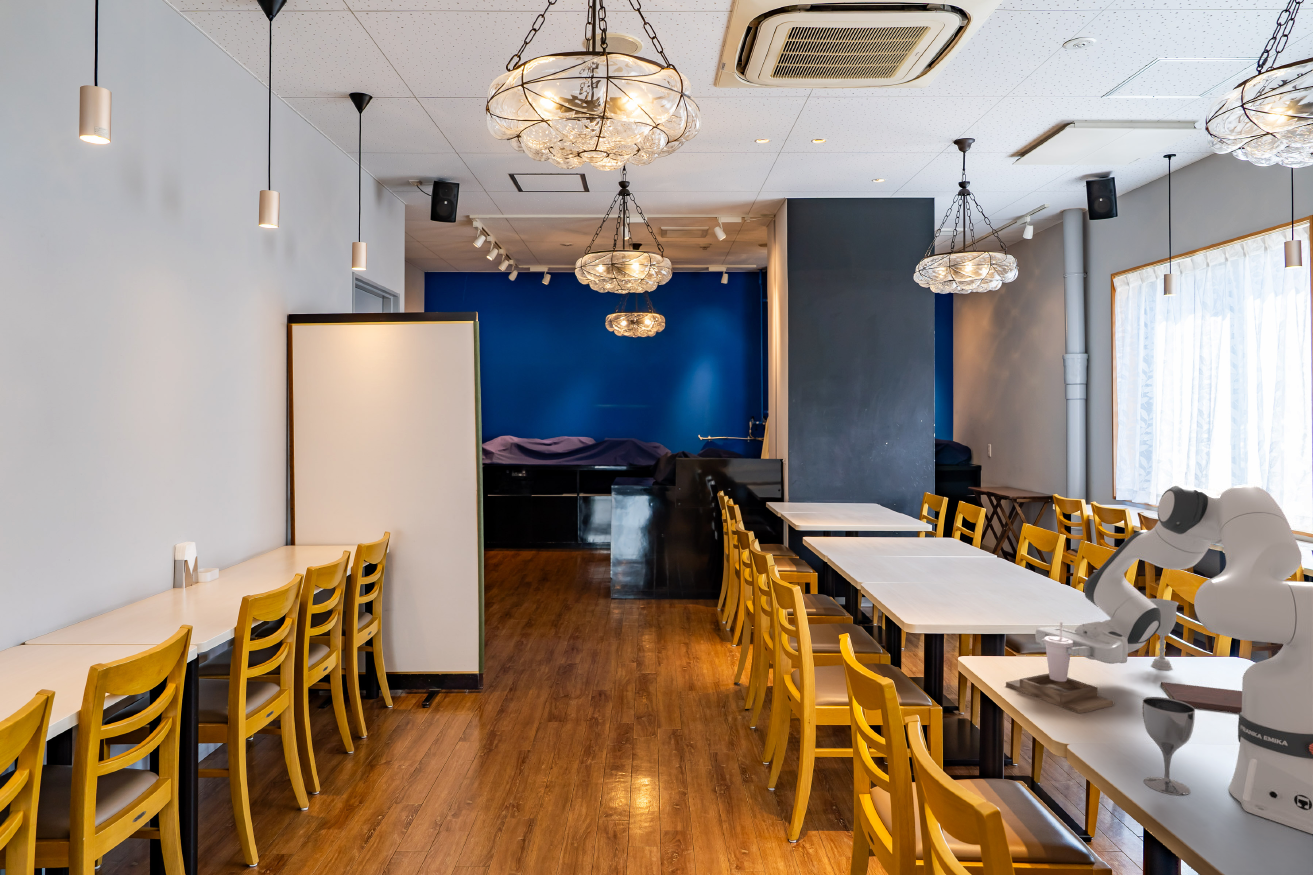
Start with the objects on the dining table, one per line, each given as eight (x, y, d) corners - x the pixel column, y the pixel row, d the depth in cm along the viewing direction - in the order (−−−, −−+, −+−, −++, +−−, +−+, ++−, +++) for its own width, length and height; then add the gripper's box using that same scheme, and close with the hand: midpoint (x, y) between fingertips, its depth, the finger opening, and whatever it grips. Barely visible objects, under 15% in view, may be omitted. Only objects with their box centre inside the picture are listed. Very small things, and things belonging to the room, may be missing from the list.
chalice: (1183, 669, 206) (1185, 603, 206) (1166, 672, 204) (1167, 605, 203) (1157, 661, 213) (1158, 597, 212) (1140, 664, 210) (1141, 599, 210)
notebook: (1160, 687, 193) (1160, 679, 193) (1255, 698, 186) (1255, 690, 186) (1175, 707, 180) (1175, 699, 179) (1278, 720, 172) (1278, 711, 172)
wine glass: (1130, 779, 142) (1132, 699, 141) (1160, 772, 144) (1162, 694, 144) (1173, 799, 134) (1174, 715, 134) (1203, 792, 137) (1205, 709, 137)
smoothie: (1076, 684, 182) (1077, 626, 182) (1047, 682, 183) (1048, 624, 183) (1067, 675, 188) (1068, 619, 188) (1039, 673, 190) (1040, 617, 189)
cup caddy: (1113, 705, 179) (1113, 692, 179) (1079, 713, 174) (1079, 700, 174) (1038, 679, 197) (1038, 667, 197) (1005, 685, 192) (1006, 674, 192)
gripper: (1056, 618, 200) (1019, 624, 195) (1133, 638, 182) (1095, 645, 176) (1056, 642, 201) (1019, 648, 195) (1133, 664, 182) (1095, 672, 176)
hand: (1056, 647), depth 185 cm, fingers closed on smoothie, 6 cm apart
